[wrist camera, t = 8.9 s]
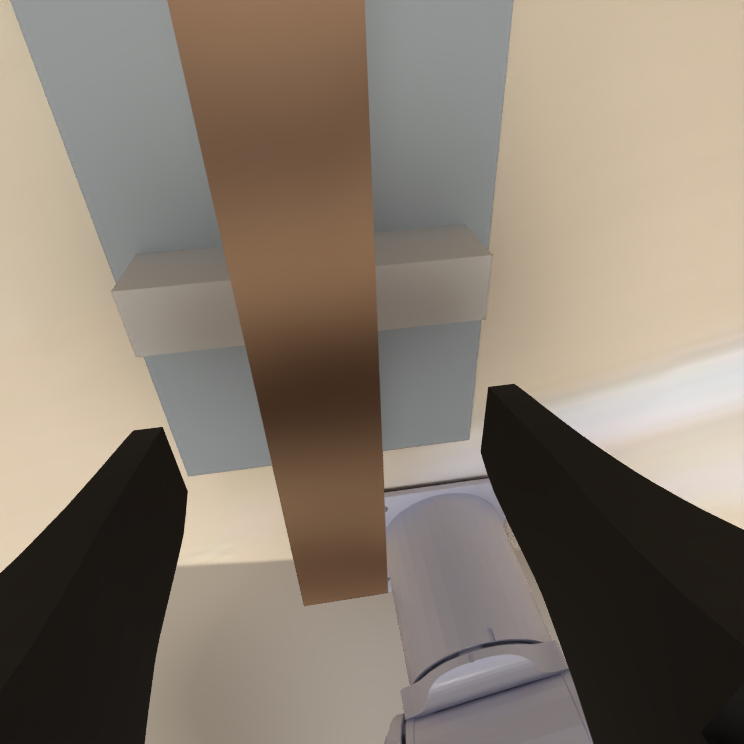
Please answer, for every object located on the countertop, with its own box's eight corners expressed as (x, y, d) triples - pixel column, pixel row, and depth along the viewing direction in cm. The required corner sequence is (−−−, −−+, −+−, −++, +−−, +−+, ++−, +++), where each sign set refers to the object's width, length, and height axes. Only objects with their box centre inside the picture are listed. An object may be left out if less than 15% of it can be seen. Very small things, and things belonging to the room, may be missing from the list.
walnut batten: (369, 486, 22) (388, 592, 18) (300, 495, 21) (304, 606, 17) (334, -52, 11) (360, -94, 7) (199, -47, 11) (147, -88, 7)
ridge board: (463, 426, 26) (488, 484, 23) (191, 461, 25) (177, 527, 21) (509, -89, 14) (575, -122, 11) (-1, -73, 13) (-97, -106, 10)
